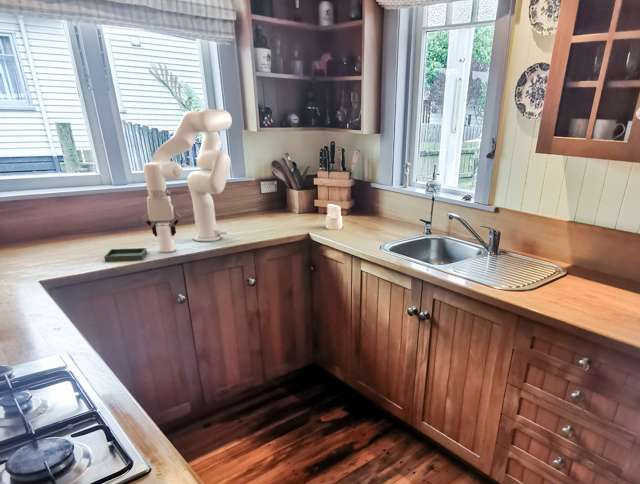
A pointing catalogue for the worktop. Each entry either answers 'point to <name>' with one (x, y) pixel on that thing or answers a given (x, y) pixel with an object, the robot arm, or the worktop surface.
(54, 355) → the worktop surface
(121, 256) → the tray
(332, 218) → the cylinder with rectangular tab
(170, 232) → the can
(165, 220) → the robot arm
